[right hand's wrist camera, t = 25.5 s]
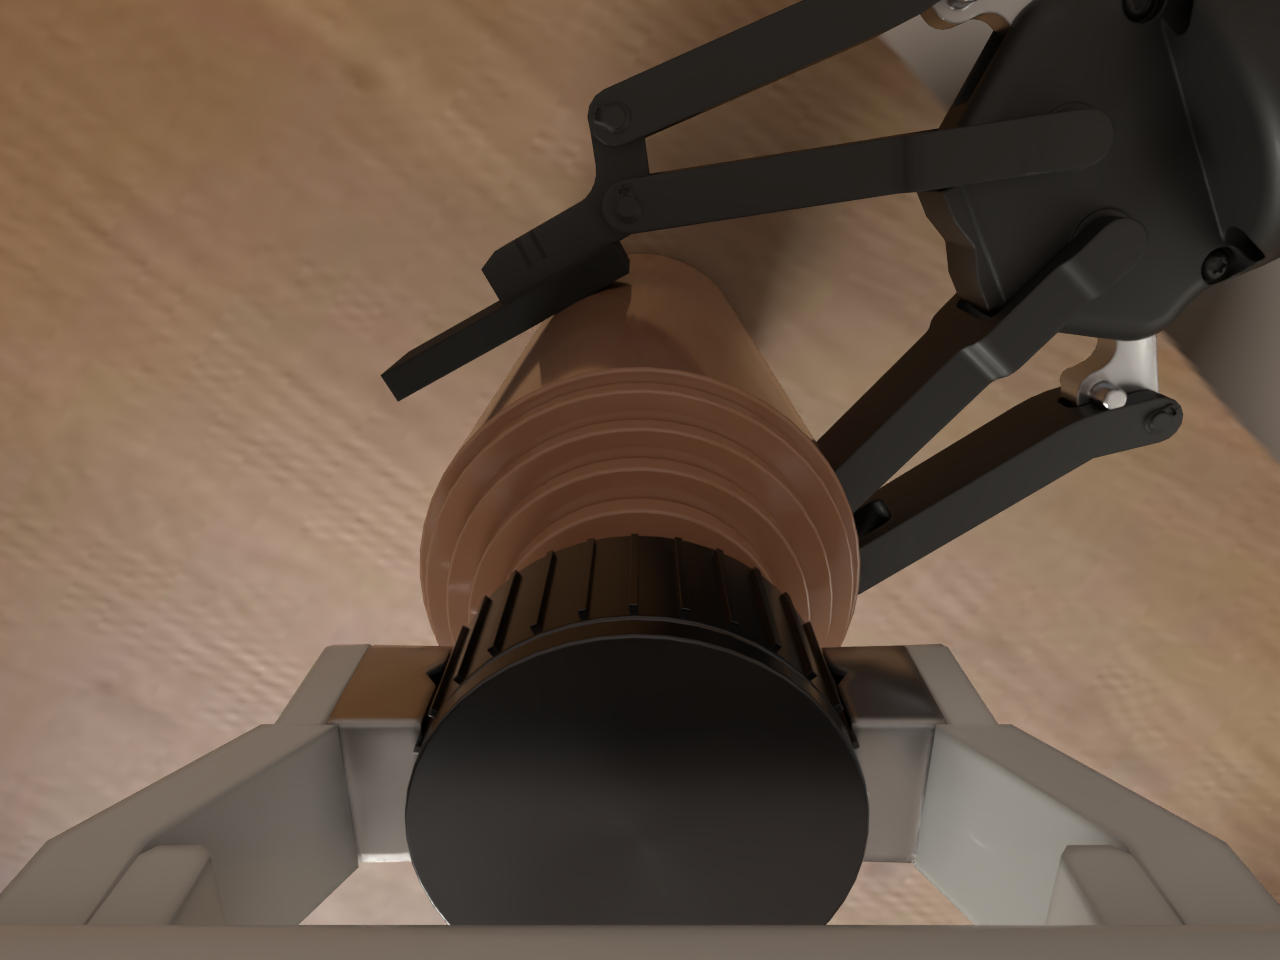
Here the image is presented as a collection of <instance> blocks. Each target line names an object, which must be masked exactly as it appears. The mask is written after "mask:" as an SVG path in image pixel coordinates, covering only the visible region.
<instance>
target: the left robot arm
mask: <svg viewBox="0 0 1280 960" xmlns="http://www.w3.org/2000/svg"><path fill="white" fill-rule="evenodd" d="M919 14H920V15H921V16H922V18H923V19H924V20H925V22H926V23H927V24H928V25H929V26H931V27H933V28H935V29H942V30H944V29H949V28H952V27H955V26H957V25H959V24H961V23H964V22H966V21H968V20H971V19H976V20H981V21H983V22H985V23H987V24H988V25H989V26H990V27H991V28H992V29H993V30H994V31H993V32H992V34H991V36H990V38H989V40H988V41H987V43H986V45H985V47H984V49H983V50H982V52H981V54H980V56H979V58H978V59H977V61H976V63H975V65H974V66H973V68H972V70H971V72H970V74H969V75H968V77H967V79H966V81H965V82H964V84H963V86H962V88H961V90H960V91H959V93H958V95H957V97H956V99H955V100H954V102H953V104H952V106H951V107H950V109H949V111H948V113H947V115H946V116H945V118H944V120H943V122H942V124H941V125H940V127H939V128H938V129H932V130H926V131H919V132H913V133H906V134H900V135H894V136H887V137H881V138H875V139H870V140H863V141H857V142H851V143H844V144H838V145H831V146H825V147H819V148H812V149H806V150H799V151H793V152H786V153H780V154H774V155H767V156H761V157H754V158H748V159H742V160H735V161H729V162H722V163H716V164H709V165H703V166H697V167H690V168H684V169H677V170H671V171H665V172H658V173H652V174H649V166H648V159H647V151H646V144H645V138H646V137H648V136H651V135H653V134H655V133H657V132H660V131H662V130H664V129H667V128H669V127H671V126H674V125H676V124H678V123H680V122H683V121H685V120H687V119H690V118H692V117H694V116H696V115H699V114H701V113H703V112H706V111H708V110H710V109H712V108H715V107H717V106H719V105H722V104H724V103H726V102H728V101H731V100H733V99H735V98H738V97H740V96H742V95H744V94H747V93H749V92H751V91H754V90H756V89H758V88H761V87H763V86H765V85H767V84H770V83H772V82H774V81H777V80H779V79H781V78H783V77H786V76H788V75H790V74H793V73H795V72H797V71H799V70H802V69H804V68H806V67H809V66H811V65H813V64H815V63H818V62H820V61H822V60H825V59H827V58H829V57H831V56H834V55H836V54H838V53H841V52H843V51H845V50H848V49H850V48H852V47H854V46H857V45H859V44H861V43H864V42H866V41H868V40H870V39H872V38H874V37H876V36H878V35H880V34H882V33H884V32H886V31H888V30H890V29H892V28H894V27H896V26H898V25H900V24H902V23H903V22H906V21H907V20H909V19H911V18H913V17H915V16H917V15H919ZM588 122H589V127H590V131H591V138H592V144H593V151H594V157H595V163H596V178H595V183H594V186H593V188H592V190H591V192H590V193H589V194H588V196H587V197H586V198H585V199H584V200H582V201H581V202H579V203H577V204H575V205H574V206H572V207H570V208H568V209H567V210H565V211H563V212H562V213H560V214H558V215H556V216H555V217H553V218H551V219H549V220H548V221H546V222H544V223H543V224H541V225H539V226H537V227H536V228H534V229H532V230H530V231H529V232H527V233H525V234H524V235H522V236H520V237H518V238H517V239H515V240H513V241H511V242H510V243H508V244H506V245H504V246H503V247H501V248H500V249H498V250H496V251H495V252H494V253H493V255H492V256H491V257H490V259H489V260H488V261H487V263H486V264H485V265H484V267H483V268H482V269H481V270H482V271H483V273H484V275H485V276H486V278H487V280H488V281H489V283H490V285H491V286H492V288H493V290H494V291H495V293H496V295H497V296H498V298H499V301H498V302H496V303H494V304H492V305H491V306H489V307H487V308H485V309H484V310H482V311H480V312H478V313H476V314H475V315H473V316H471V317H469V318H468V319H466V320H464V321H462V322H461V323H459V324H457V325H455V326H454V327H452V328H450V329H448V330H446V331H445V332H443V333H441V334H439V335H438V336H436V337H434V338H432V339H431V340H429V341H427V342H425V343H423V344H422V345H420V346H418V347H416V348H415V349H413V350H411V351H409V352H408V353H407V354H406V355H404V356H403V357H402V358H401V359H400V360H398V361H397V362H396V363H395V364H394V365H392V366H391V367H390V368H389V369H388V370H386V371H385V372H384V373H383V374H382V375H381V377H382V378H383V380H384V381H385V383H386V384H387V386H388V387H389V389H390V390H391V392H392V393H393V395H394V396H395V398H396V399H397V401H400V400H402V399H404V398H405V397H407V396H409V395H411V394H413V393H414V392H416V391H418V390H420V389H422V388H423V387H425V386H427V385H429V384H431V383H432V382H434V381H436V380H438V379H440V378H441V377H443V376H445V375H447V374H449V373H450V372H452V371H454V370H456V369H458V368H459V367H461V366H463V365H465V364H467V363H468V362H470V361H472V360H474V359H476V358H477V357H479V356H481V355H483V354H485V353H486V352H488V351H490V350H492V349H494V348H495V347H497V346H499V345H501V344H503V343H504V342H506V341H508V340H510V339H512V338H513V337H515V336H517V335H519V334H521V333H522V332H524V331H526V330H528V329H530V328H531V327H533V326H535V325H537V324H539V323H540V322H542V321H544V320H546V319H548V318H549V317H551V316H553V315H555V314H557V313H558V312H560V311H562V310H564V309H565V308H567V307H569V306H570V305H572V304H573V303H575V302H578V301H580V300H582V299H584V298H585V297H587V296H589V295H591V294H593V293H594V292H596V291H598V290H600V289H602V288H604V287H605V286H607V285H609V284H611V283H613V282H614V281H616V280H618V279H620V278H622V277H623V276H625V275H627V274H629V270H630V259H629V258H628V256H627V254H626V252H625V250H624V248H623V246H622V244H621V242H620V240H622V239H624V238H625V237H627V236H629V235H631V234H635V233H641V232H648V231H655V230H661V229H668V228H674V227H681V226H687V225H694V224H700V223H707V222H714V221H720V220H727V219H733V218H740V217H746V216H753V215H759V214H766V213H772V212H779V211H786V210H792V209H799V208H805V207H812V206H818V205H825V204H831V203H838V202H845V201H851V200H858V199H864V198H871V197H877V196H884V195H890V194H898V193H910V192H917V194H918V197H919V199H920V202H921V204H922V207H923V209H924V212H925V214H926V216H927V218H928V219H929V220H930V222H931V223H932V224H933V225H934V227H935V228H936V229H937V230H938V232H939V233H940V234H941V236H942V237H943V238H944V240H945V242H946V251H947V261H948V270H949V274H950V276H951V279H952V281H953V284H954V286H955V289H956V291H957V293H956V294H955V295H954V296H953V297H952V298H951V299H950V300H949V301H948V302H947V303H946V304H945V305H944V306H943V307H942V308H941V309H940V310H939V311H938V312H937V313H936V315H935V316H934V317H933V319H932V320H931V324H930V328H929V329H928V331H927V332H926V333H925V334H924V335H923V336H922V337H921V338H920V339H919V340H918V341H917V342H916V343H915V344H914V345H913V346H912V347H911V348H910V349H909V350H908V351H907V352H906V353H905V354H904V355H903V356H902V357H901V358H900V359H899V360H898V361H897V362H896V363H895V364H894V365H893V366H892V367H891V368H890V369H889V370H888V371H887V372H886V373H885V374H884V375H883V376H882V377H881V378H880V379H879V380H878V381H877V382H876V383H875V384H874V385H873V386H872V387H871V388H870V389H869V390H868V391H867V392H866V393H865V394H864V395H863V396H862V397H861V398H860V399H859V400H858V401H857V402H856V403H855V404H854V405H853V406H852V407H851V408H850V409H849V410H848V411H847V412H846V413H845V414H844V415H843V416H842V417H841V418H840V419H839V420H838V421H837V422H836V423H835V424H834V425H833V426H832V427H831V428H830V429H829V430H828V431H827V432H826V433H825V434H824V435H823V436H822V437H821V438H820V439H819V440H818V441H817V442H816V443H817V444H818V446H819V448H820V449H821V451H822V452H823V454H824V456H825V457H826V459H827V460H828V462H829V464H830V466H831V467H832V469H833V471H834V472H835V474H836V476H837V478H838V479H839V481H840V483H841V484H842V487H843V489H844V492H845V494H846V497H847V499H848V502H849V504H850V507H851V509H852V512H853V517H854V521H855V525H856V529H857V533H858V540H859V552H860V578H859V590H858V594H861V593H862V592H864V591H866V590H867V589H869V588H871V587H873V586H874V585H876V584H878V583H879V582H881V581H883V580H885V579H886V578H888V577H890V576H891V575H893V574H895V573H897V572H898V571H900V570H902V569H903V568H905V567H907V566H909V565H910V564H912V563H914V562H916V561H917V560H919V559H921V558H922V557H924V556H926V555H928V554H929V553H931V552H933V551H934V550H936V549H938V548H940V547H941V546H943V545H945V544H946V543H948V542H950V541H952V540H953V539H955V538H957V537H958V536H960V535H962V534H964V533H965V532H967V531H969V530H971V529H972V528H974V527H976V526H977V525H979V524H981V523H983V522H984V521H986V520H988V519H989V518H991V517H993V516H995V515H996V514H998V513H1000V512H1001V511H1003V510H1005V509H1007V508H1008V507H1010V506H1012V505H1013V504H1015V503H1017V502H1019V501H1020V500H1022V499H1024V498H1026V497H1027V496H1029V495H1031V494H1032V493H1034V492H1036V491H1038V490H1039V489H1041V488H1043V487H1044V486H1046V485H1048V484H1050V483H1051V482H1053V481H1055V480H1056V479H1058V478H1060V477H1062V476H1063V475H1065V474H1067V473H1068V472H1070V471H1072V470H1074V469H1075V468H1077V467H1079V466H1081V465H1082V464H1084V463H1086V462H1087V461H1089V460H1091V459H1093V458H1096V457H1100V456H1104V455H1108V454H1113V453H1117V452H1121V451H1125V450H1129V449H1133V448H1138V447H1142V446H1146V445H1150V444H1154V443H1158V442H1161V441H1164V440H1166V439H1168V438H1170V437H1171V436H1172V435H1173V434H1174V433H1176V432H1177V430H1178V428H1179V427H1180V425H1181V423H1182V417H1183V412H1182V409H1181V406H1180V405H1179V404H1178V403H1177V402H1176V401H1175V400H1173V399H1171V398H1169V397H1167V396H1164V395H1162V394H1160V393H1159V386H1158V364H1157V341H1156V334H1157V333H1159V332H1161V331H1162V330H1164V329H1165V328H1166V327H1168V326H1169V325H1170V324H1171V323H1172V322H1173V321H1174V320H1175V319H1176V318H1177V317H1178V315H1179V314H1180V313H1181V312H1182V311H1183V309H1184V308H1185V307H1186V306H1187V305H1188V304H1189V303H1190V302H1191V301H1192V300H1193V299H1194V298H1195V297H1197V296H1198V295H1199V294H1200V293H1202V292H1203V291H1204V290H1206V289H1207V288H1209V287H1211V286H1213V285H1215V284H1217V283H1220V282H1222V281H1225V280H1228V279H1230V278H1233V277H1236V276H1238V275H1241V274H1243V273H1246V272H1249V271H1251V270H1253V269H1256V268H1258V267H1261V266H1263V265H1265V264H1267V263H1269V262H1271V261H1273V260H1275V259H1278V258H1280V0H803V1H800V2H798V3H796V4H794V5H791V6H789V7H787V8H785V9H783V10H780V11H778V12H776V13H774V14H771V15H769V16H767V17H765V18H762V19H760V20H758V21H756V22H754V23H751V24H749V25H747V26H745V27H742V28H740V29H738V30H736V31H733V32H731V33H729V34H727V35H725V36H722V37H720V38H718V39H716V40H713V41H711V42H709V43H707V44H704V45H702V46H700V47H698V48H695V49H693V50H691V51H689V52H687V53H684V54H682V55H680V56H678V57H675V58H673V59H671V60H669V61H666V62H664V63H662V64H660V65H658V66H655V67H653V68H651V69H649V70H646V71H644V72H642V73H640V74H637V75H635V76H633V77H631V78H629V79H626V80H624V81H622V82H620V83H617V84H615V85H613V86H611V87H608V88H606V89H604V90H603V91H601V92H600V93H599V94H597V95H596V96H595V97H594V99H593V101H592V102H591V104H590V106H589V111H588ZM1057 332H1059V333H1066V334H1074V335H1081V336H1089V337H1096V338H1098V343H1097V346H1096V348H1095V350H1094V352H1093V353H1092V354H1091V356H1090V357H1088V358H1087V359H1086V360H1085V361H1083V362H1081V363H1079V364H1077V365H1075V366H1073V367H1071V368H1067V369H1066V370H1064V371H1063V372H1062V374H1061V376H1060V383H1061V387H1058V388H1055V389H1052V390H1048V391H1046V392H1043V393H1041V394H1038V395H1036V396H1034V397H1031V398H1029V399H1027V400H1026V401H1024V402H1022V403H1020V404H1018V405H1016V406H1015V407H1013V408H1011V409H1010V410H1008V411H1006V412H1005V413H1003V414H1001V415H1000V416H998V417H996V418H995V419H993V420H992V421H990V422H988V423H987V424H985V425H983V426H982V427H980V428H978V429H977V430H975V431H973V432H972V433H970V434H968V435H967V436H965V437H964V438H962V439H960V440H959V441H957V442H955V443H954V444H952V445H950V446H949V447H947V448H945V449H944V450H942V451H940V452H939V453H937V454H936V455H934V456H932V457H931V458H929V459H927V460H926V461H924V462H922V463H921V464H919V465H917V466H916V467H914V468H913V469H911V470H909V471H908V472H906V473H904V474H903V475H901V476H899V477H898V478H896V479H894V480H893V481H891V482H889V483H888V484H886V485H885V486H883V487H881V486H882V485H883V484H884V483H885V482H886V481H887V480H889V479H890V478H891V477H892V476H893V475H894V474H895V473H896V472H897V471H898V470H899V469H900V468H901V467H902V466H903V465H904V464H905V463H906V462H908V461H909V460H910V459H911V458H912V457H913V456H914V455H915V454H916V453H917V452H918V451H919V450H920V449H921V448H922V447H923V446H924V445H925V444H926V443H928V442H929V441H930V440H931V439H932V438H933V437H934V436H935V435H936V434H937V433H938V432H939V431H940V430H941V429H942V428H943V427H944V426H945V425H947V424H948V423H949V422H950V421H951V420H952V419H953V418H954V417H955V416H956V415H957V414H958V413H959V412H960V411H961V410H962V409H963V408H964V407H965V406H967V405H968V404H969V403H970V402H971V401H972V400H973V399H974V398H975V397H976V396H977V395H978V394H979V393H980V392H981V391H982V390H983V389H984V388H986V387H987V386H988V385H989V384H990V383H991V382H993V381H994V380H996V379H1000V378H1003V377H1007V376H1009V375H1010V374H1012V373H1014V372H1015V371H1016V370H1018V369H1019V368H1020V367H1021V366H1022V365H1023V364H1025V363H1026V362H1027V361H1028V360H1029V359H1030V358H1031V357H1032V356H1033V355H1034V354H1035V353H1036V352H1037V351H1038V350H1039V349H1040V348H1041V347H1043V346H1044V345H1045V344H1046V343H1047V342H1048V341H1049V340H1050V339H1051V338H1052V337H1053V336H1054V335H1055V334H1056V333H1057ZM880 487H881V488H880ZM879 488H880V489H879Z"/></svg>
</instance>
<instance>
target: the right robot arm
mask: <svg viewBox="0 0 1280 960" xmlns="http://www.w3.org/2000/svg"><path fill="white" fill-rule="evenodd" d="M453 647H454V646H406V645H373V646H372V645H370V644H356V645H331V646H328V647H326V648H325V649H324V650H323V651H322V653H321V655H320V656H319V658H318V659H317V661H316V662H315V664H314V665H313V667H312V668H311V670H310V671H309V673H308V674H307V676H306V677H305V679H304V680H303V682H302V683H301V685H300V686H299V688H298V689H297V691H296V692H295V694H294V695H293V697H292V698H291V700H290V701H289V703H288V704H287V706H286V707H285V709H284V710H283V712H282V714H281V715H280V717H279V718H278V720H277V721H276V723H275V724H266V725H260V726H258V727H256V728H254V729H252V730H250V731H249V732H247V733H245V734H243V735H241V736H239V737H237V738H236V739H234V740H232V741H230V742H228V743H226V744H225V745H223V746H221V747H219V748H217V749H215V750H214V751H212V752H210V753H208V754H206V755H204V756H203V757H201V758H199V759H197V760H195V761H193V762H192V763H190V764H188V765H186V766H184V767H182V768H181V769H179V770H177V771H175V772H173V773H171V774H170V775H168V776H166V777H164V778H162V779H160V780H159V781H157V782H155V783H153V784H151V785H149V786H148V787H146V788H144V789H142V790H140V791H138V792H137V793H135V794H133V795H131V796H129V797H127V798H125V799H124V800H122V801H120V802H118V803H116V804H114V805H113V806H111V807H109V808H107V809H105V810H103V811H102V812H100V813H98V814H96V815H94V816H92V817H91V818H89V819H87V820H85V821H83V822H81V823H80V824H78V825H76V826H74V827H72V828H70V829H69V830H67V831H65V832H63V833H61V834H59V835H58V836H56V837H54V838H52V839H50V840H48V841H47V842H46V843H45V844H44V845H43V846H42V847H41V849H40V850H39V851H38V852H37V853H36V854H35V855H34V856H33V858H32V859H31V860H30V861H29V862H28V863H27V864H26V866H25V867H24V868H23V869H22V870H21V871H20V872H19V873H18V875H17V876H16V877H15V878H14V879H13V880H12V881H11V883H10V884H9V885H8V886H7V887H6V888H5V889H4V890H3V892H2V893H1V894H0V960H1280V905H1279V904H1278V903H1277V901H1276V900H1275V899H1274V898H1273V897H1272V896H1271V894H1270V893H1269V892H1268V891H1267V890H1266V889H1265V888H1264V886H1263V885H1262V884H1261V883H1260V882H1259V881H1258V879H1257V878H1256V877H1255V876H1254V875H1253V874H1252V872H1251V871H1250V870H1249V869H1248V868H1247V867H1246V866H1245V864H1244V863H1243V862H1242V861H1241V860H1240V859H1239V857H1238V856H1237V855H1236V854H1235V853H1234V852H1233V850H1232V849H1231V848H1230V847H1229V846H1228V845H1227V844H1226V843H1225V842H1224V841H1222V840H1220V839H1218V838H1216V837H1215V836H1213V835H1211V834H1209V833H1207V832H1206V831H1204V830H1202V829H1200V828H1198V827H1196V826H1195V825H1193V824H1191V823H1189V822H1187V821H1186V820H1184V819H1182V818H1180V817H1178V816H1176V815H1175V814H1173V813H1171V812H1169V811H1167V810H1166V809H1164V808H1162V807H1160V806H1158V805H1157V804H1155V803H1153V802H1151V801H1149V800H1147V799H1146V798H1144V797H1142V796H1140V795H1138V794H1137V793H1135V792H1133V791H1131V790H1129V789H1127V788H1126V787H1124V786H1122V785H1120V784H1118V783H1117V782H1115V781H1113V780H1111V779H1109V778H1108V777H1106V776H1104V775H1102V774H1100V773H1098V772H1097V771H1095V770H1093V769H1091V768H1089V767H1088V766H1086V765H1084V764H1082V763H1080V762H1078V761H1077V760H1075V759H1073V758H1071V757H1069V756H1068V755H1066V754H1064V753H1062V752H1060V751H1059V750H1057V749H1055V748H1053V747H1051V746H1049V745H1048V744H1046V743H1044V742H1042V741H1040V740H1039V739H1037V738H1035V737H1033V736H1031V735H1030V734H1028V733H1026V732H1024V731H1022V730H1020V729H1019V728H1017V727H1015V726H1013V725H1007V724H998V723H997V721H996V720H995V718H994V717H993V715H992V714H991V712H990V711H989V709H988V708H987V706H986V705H985V703H984V702H983V700H982V699H981V697H980V696H979V694H978V693H977V691H976V689H975V688H974V686H973V685H972V683H971V682H970V680H969V679H968V677H967V676H966V674H965V673H964V671H963V670H962V668H961V667H960V665H959V664H958V662H957V661H956V659H955V657H954V656H953V654H952V653H951V651H950V650H949V648H948V647H946V646H944V645H942V644H927V645H902V646H864V647H824V648H821V650H822V652H823V655H824V658H825V660H826V663H827V666H828V668H829V671H830V672H832V673H833V676H834V679H835V681H836V684H837V693H838V695H839V698H840V701H841V703H842V706H843V709H844V710H843V713H844V716H845V718H846V721H847V723H848V726H849V729H850V731H851V733H855V734H856V737H857V740H858V742H859V746H860V748H856V749H854V750H855V752H856V755H857V758H858V761H859V764H860V767H861V770H862V773H863V775H864V778H865V782H866V788H867V795H868V801H869V834H868V839H867V844H866V850H865V855H864V859H863V861H866V862H902V863H915V867H916V868H917V869H918V870H919V871H920V872H921V873H922V874H923V875H924V876H925V877H926V878H927V879H928V880H929V881H930V882H931V883H932V884H933V885H934V886H935V887H936V888H937V889H938V890H939V891H940V892H941V893H942V894H943V895H944V896H946V897H947V898H948V899H949V900H950V901H951V902H952V903H953V904H954V905H955V906H956V907H957V908H958V909H959V910H960V911H961V912H962V913H963V914H964V915H965V916H966V917H967V918H968V919H969V920H970V921H971V922H972V923H973V924H974V925H299V924H300V923H301V922H302V921H303V920H304V919H305V918H306V917H307V916H308V915H309V914H310V913H311V912H312V911H313V910H314V909H315V908H316V907H317V906H318V905H320V904H321V903H322V902H323V901H324V900H325V899H326V898H327V897H328V896H329V895H330V894H331V893H332V892H333V891H334V890H335V889H336V888H337V887H338V886H339V885H340V884H341V883H342V882H344V881H345V880H346V879H347V878H348V877H349V876H350V875H351V874H352V873H353V872H354V871H355V870H356V869H357V868H358V863H371V862H405V861H411V857H410V853H409V848H408V844H407V839H406V829H405V804H406V795H407V788H408V784H409V781H410V777H411V773H412V770H413V766H414V763H415V761H416V758H417V755H418V754H417V753H413V751H414V747H415V744H416V742H417V739H418V738H422V737H423V734H424V732H425V729H426V727H427V724H428V722H429V719H430V716H429V715H428V712H429V710H430V707H431V704H432V702H433V699H434V697H435V694H436V690H437V687H438V684H439V682H440V679H441V677H442V676H443V673H444V671H445V668H446V665H447V663H448V660H449V657H450V655H451V652H452V650H453Z"/></svg>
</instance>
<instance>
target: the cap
mask: <svg viewBox="0 0 1280 960" xmlns="http://www.w3.org/2000/svg"><path fill="white" fill-rule="evenodd" d="M843 710H844V709H843V706H842V703H841V701H840V698H839V695H838V693H837V684H836V681H835V679H834V676H833V673H832V672H830V671H829V668H828V666H827V663H826V660H825V658H824V655H823V652H822V650H821V647H820V644H819V642H818V639H817V636H816V634H815V631H814V628H813V626H812V624H811V622H810V621H809V622H807V623H805V621H804V620H803V619H802V617H801V616H800V614H799V613H798V612H797V610H796V609H795V607H794V606H793V603H792V600H791V597H790V595H789V594H788V593H787V592H784V593H783V594H782V593H781V592H780V591H779V590H778V588H777V587H776V586H774V585H773V584H772V583H770V582H769V581H768V580H767V579H765V578H764V577H763V576H762V575H761V572H760V570H759V569H757V568H756V567H754V568H753V569H752V568H750V567H748V566H747V565H745V564H743V563H742V562H740V561H738V560H737V559H735V558H732V557H730V556H728V555H726V554H724V552H723V550H721V549H718V548H716V550H714V549H712V548H708V547H705V546H702V545H698V544H695V543H691V542H688V541H683V540H682V538H679V537H675V538H674V539H671V538H665V537H656V536H638V534H631V536H621V537H608V538H603V539H598V540H595V538H591V539H587V542H583V543H579V544H576V545H573V546H570V547H567V548H564V549H561V550H558V551H556V552H554V551H553V550H552V551H549V552H547V553H546V556H545V557H543V558H541V559H539V560H537V561H534V562H533V563H531V564H530V565H528V566H527V567H525V568H524V569H522V570H520V571H519V572H518V571H517V570H515V571H513V572H512V573H511V574H510V577H509V579H508V580H507V581H506V582H505V583H503V584H502V585H501V586H500V587H499V588H497V589H496V590H495V591H494V592H493V593H492V595H491V596H490V597H488V596H486V595H485V596H484V597H483V598H482V599H481V602H480V605H479V608H478V610H477V613H476V614H475V616H474V617H473V619H472V620H471V622H470V623H469V625H468V626H467V627H466V626H464V625H463V626H462V627H461V629H460V631H459V634H458V637H457V639H456V642H455V644H454V647H453V650H452V652H451V655H450V657H449V660H448V663H447V665H446V668H445V671H444V673H443V676H442V677H441V679H440V682H439V684H438V687H437V690H436V694H435V697H434V699H433V702H432V704H431V707H430V710H429V712H428V715H429V716H430V719H429V722H428V724H427V727H426V729H425V732H424V734H423V737H422V738H418V739H417V742H416V744H415V747H414V751H413V753H417V754H418V755H417V758H416V761H415V763H414V766H413V770H412V773H411V777H410V781H409V784H408V788H407V795H406V804H405V829H406V839H407V844H408V848H409V853H410V857H411V861H412V864H413V867H414V869H415V872H416V874H417V877H418V879H419V882H420V884H421V886H422V888H423V889H424V891H425V893H426V895H427V896H428V898H429V900H430V901H431V903H432V905H433V906H434V907H435V909H436V910H437V911H438V912H439V914H440V915H441V916H442V918H443V919H444V920H445V921H446V923H447V924H448V925H826V924H827V923H828V922H829V921H830V920H831V918H832V917H833V916H834V914H835V913H836V912H837V910H838V909H839V907H840V906H841V905H842V903H843V902H844V901H845V899H846V897H847V895H848V893H849V891H850V890H851V888H852V886H853V884H854V882H855V880H856V878H857V875H858V873H859V870H860V867H861V864H862V861H863V859H864V855H865V850H866V844H867V839H868V834H869V801H868V795H867V788H866V782H865V778H864V775H863V773H862V770H861V767H860V764H859V761H858V758H857V755H856V752H855V750H854V749H856V748H860V746H859V742H858V740H857V737H856V734H855V733H851V731H850V729H849V726H848V723H847V721H846V718H845V716H844V713H843Z"/></svg>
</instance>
